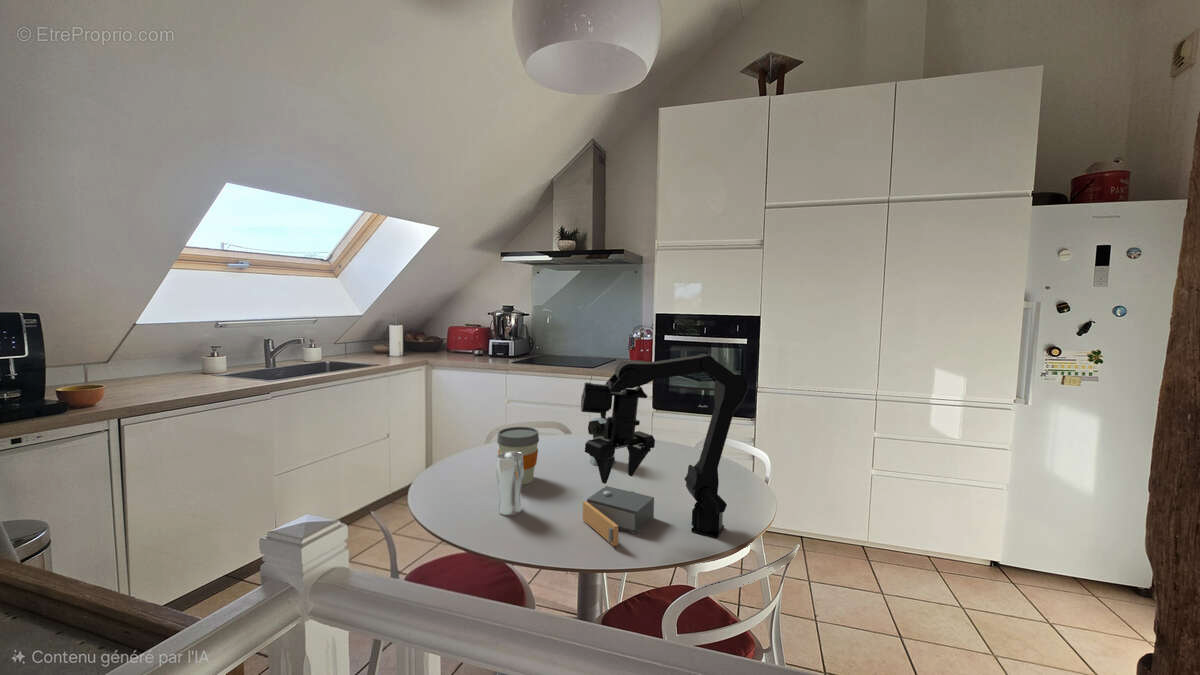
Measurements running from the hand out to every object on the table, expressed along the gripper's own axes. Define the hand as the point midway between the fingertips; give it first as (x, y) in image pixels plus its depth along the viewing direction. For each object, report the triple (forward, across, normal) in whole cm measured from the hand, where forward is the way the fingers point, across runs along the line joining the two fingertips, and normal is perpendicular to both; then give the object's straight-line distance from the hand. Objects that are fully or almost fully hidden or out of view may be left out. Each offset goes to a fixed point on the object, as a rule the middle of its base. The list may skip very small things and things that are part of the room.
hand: (617, 479), depth 116 cm
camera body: (+13, -8, -4) cm, 16 cm away
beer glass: (+16, +10, -27) cm, 33 cm away
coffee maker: (+13, -34, -36) cm, 52 cm away
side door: (+13, +2, -2) cm, 14 cm away
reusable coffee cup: (+16, -4, -44) cm, 46 cm away
